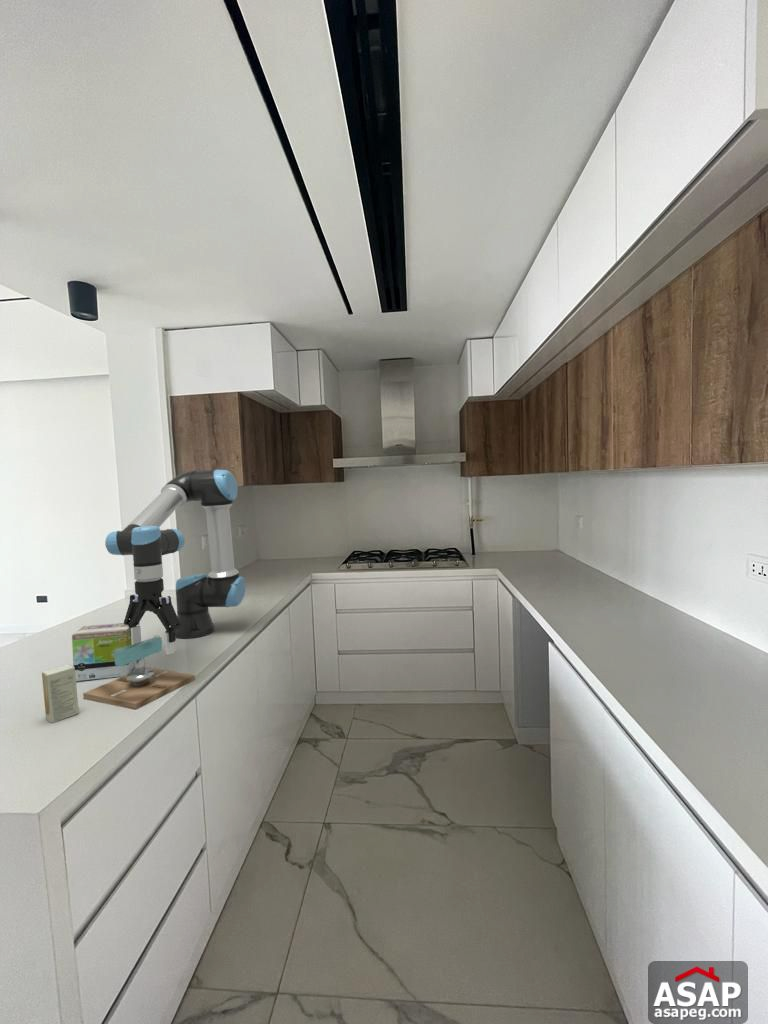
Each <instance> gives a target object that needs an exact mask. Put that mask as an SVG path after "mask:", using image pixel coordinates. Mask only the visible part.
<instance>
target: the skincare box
mask: <svg viewBox="0 0 768 1024" xmlns="http://www.w3.org/2000/svg"><path fill="white" fill-rule="evenodd" d="M41 677H42V680H41V681H42V688H43V690H42V691H43V699H44V700H43V701H44V710H45V711H44V712H45V719H46V720H47V721H48V722H49V723H50V724H53V723H55V722H58V721H62V720H64V719H67V718H69V717H73V716H75V715H78V714H79V713H80V712H79V701H78V699H79V698H78V691H77V690H78V689H77V682H76V677H75V667H73V665H72V664H70V663H68V664H65V665H64V664H63V665H61V666H58V667H57V666H56V667H54V668H51V669H47V670H43V671H41Z"/></svg>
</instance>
